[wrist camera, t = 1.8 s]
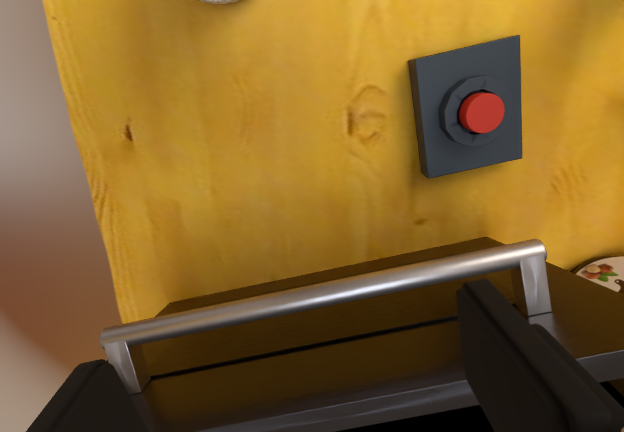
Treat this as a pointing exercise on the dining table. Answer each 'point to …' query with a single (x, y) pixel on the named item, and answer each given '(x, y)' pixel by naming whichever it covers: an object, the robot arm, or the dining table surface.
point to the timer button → (481, 112)
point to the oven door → (349, 341)
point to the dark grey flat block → (449, 97)
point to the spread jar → (604, 272)
